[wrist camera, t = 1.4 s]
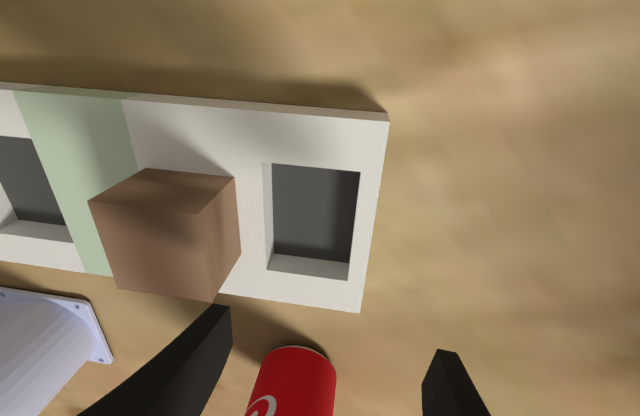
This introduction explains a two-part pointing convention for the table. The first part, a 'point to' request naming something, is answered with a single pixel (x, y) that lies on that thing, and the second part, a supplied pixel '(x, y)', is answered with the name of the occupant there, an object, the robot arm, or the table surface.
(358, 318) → the table surface
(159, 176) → the block
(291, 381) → the beverage can
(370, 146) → the trap board
